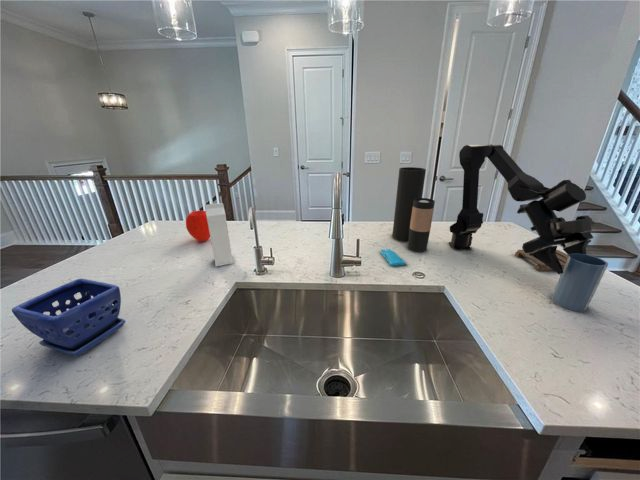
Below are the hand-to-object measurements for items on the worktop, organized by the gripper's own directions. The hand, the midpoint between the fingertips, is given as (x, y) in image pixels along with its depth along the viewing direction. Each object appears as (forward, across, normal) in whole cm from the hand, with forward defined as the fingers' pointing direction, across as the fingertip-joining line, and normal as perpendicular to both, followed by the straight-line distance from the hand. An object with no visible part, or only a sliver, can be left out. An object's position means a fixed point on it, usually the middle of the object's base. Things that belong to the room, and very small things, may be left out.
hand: (573, 271), depth 69 cm
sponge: (-20, -32, +32) cm, 50 cm away
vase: (-32, -16, +44) cm, 57 cm away
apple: (-49, -103, +62) cm, 129 cm away
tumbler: (+8, 0, +5) cm, 9 cm away
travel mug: (-23, -18, +36) cm, 46 cm away
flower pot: (-8, -122, +22) cm, 124 cm away
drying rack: (-6, +20, +19) cm, 28 cm away
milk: (-31, -93, +44) cm, 107 cm away
